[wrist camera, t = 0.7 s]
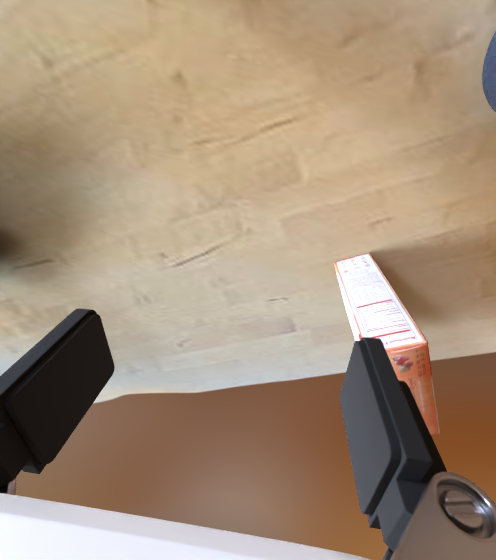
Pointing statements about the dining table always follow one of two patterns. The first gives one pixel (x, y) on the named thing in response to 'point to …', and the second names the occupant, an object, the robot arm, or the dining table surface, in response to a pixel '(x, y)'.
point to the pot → (490, 74)
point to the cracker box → (388, 328)
